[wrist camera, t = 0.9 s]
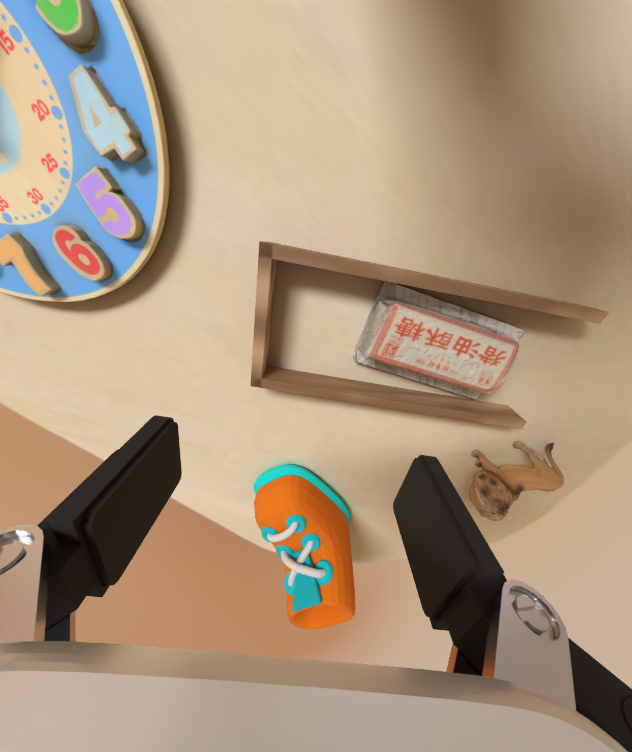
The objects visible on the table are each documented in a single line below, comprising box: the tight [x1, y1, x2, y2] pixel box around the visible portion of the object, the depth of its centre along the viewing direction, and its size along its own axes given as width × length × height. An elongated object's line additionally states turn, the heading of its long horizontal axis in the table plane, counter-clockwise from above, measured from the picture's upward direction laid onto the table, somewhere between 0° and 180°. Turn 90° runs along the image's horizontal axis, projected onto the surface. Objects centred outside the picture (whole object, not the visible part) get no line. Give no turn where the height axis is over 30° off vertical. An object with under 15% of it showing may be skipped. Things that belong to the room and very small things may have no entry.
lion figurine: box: [469, 441, 564, 521], centre depth 35 cm, size 15×5×9 cm, turn 114°
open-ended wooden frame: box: [251, 242, 609, 429], centre depth 29 cm, size 15×35×4 cm, turn 80°
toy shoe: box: [254, 464, 355, 629], centre depth 38 cm, size 12×20×15 cm, turn 35°
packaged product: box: [352, 281, 525, 399], centre depth 29 cm, size 18×5×10 cm
